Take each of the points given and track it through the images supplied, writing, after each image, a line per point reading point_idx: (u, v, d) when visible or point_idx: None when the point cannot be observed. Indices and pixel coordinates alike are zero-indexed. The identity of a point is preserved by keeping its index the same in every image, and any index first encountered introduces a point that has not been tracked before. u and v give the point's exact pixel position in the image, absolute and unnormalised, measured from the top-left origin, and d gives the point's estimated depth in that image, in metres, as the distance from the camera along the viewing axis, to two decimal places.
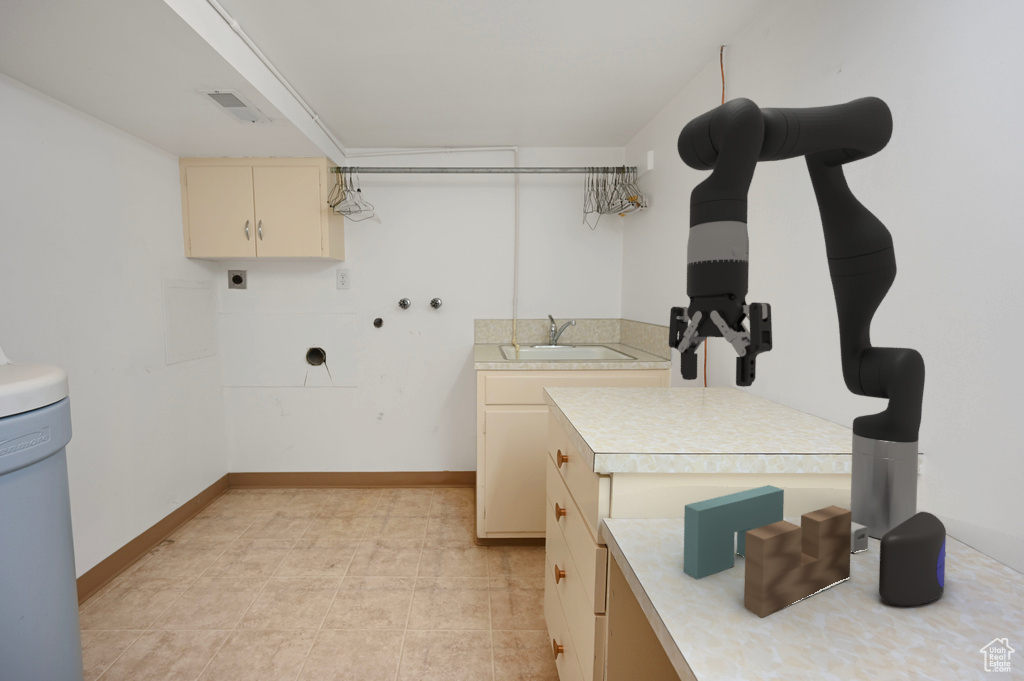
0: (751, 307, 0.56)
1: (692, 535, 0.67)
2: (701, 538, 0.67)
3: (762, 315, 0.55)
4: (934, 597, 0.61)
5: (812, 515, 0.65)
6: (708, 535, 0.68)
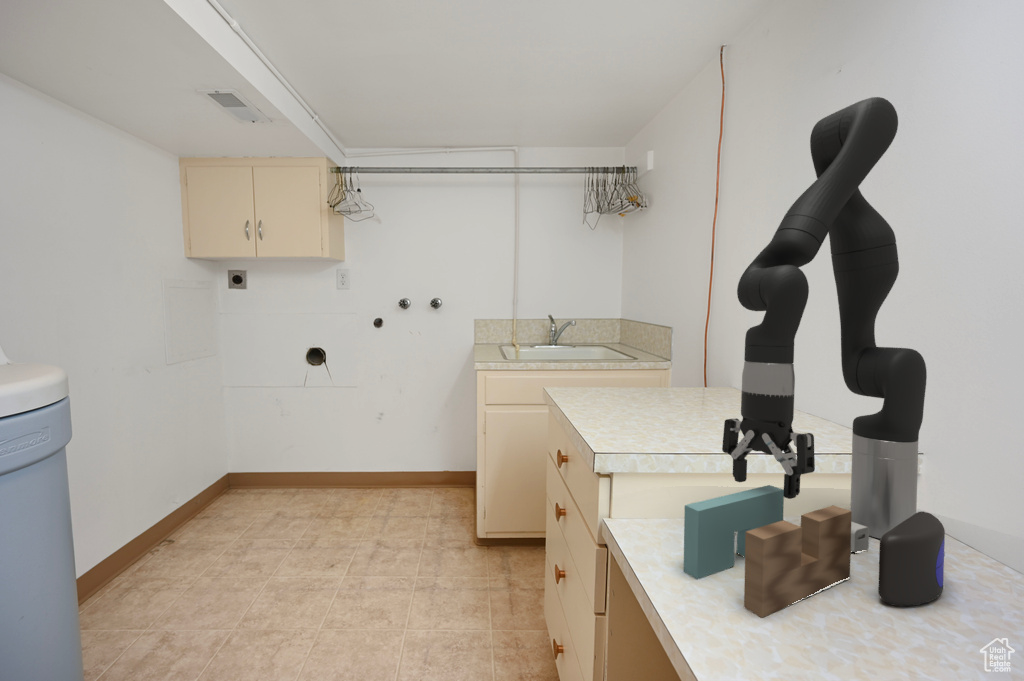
0: (798, 437, 0.69)
1: (692, 535, 0.67)
2: (701, 538, 0.67)
3: (807, 445, 0.69)
4: (933, 597, 0.61)
5: (812, 515, 0.65)
6: (708, 535, 0.68)
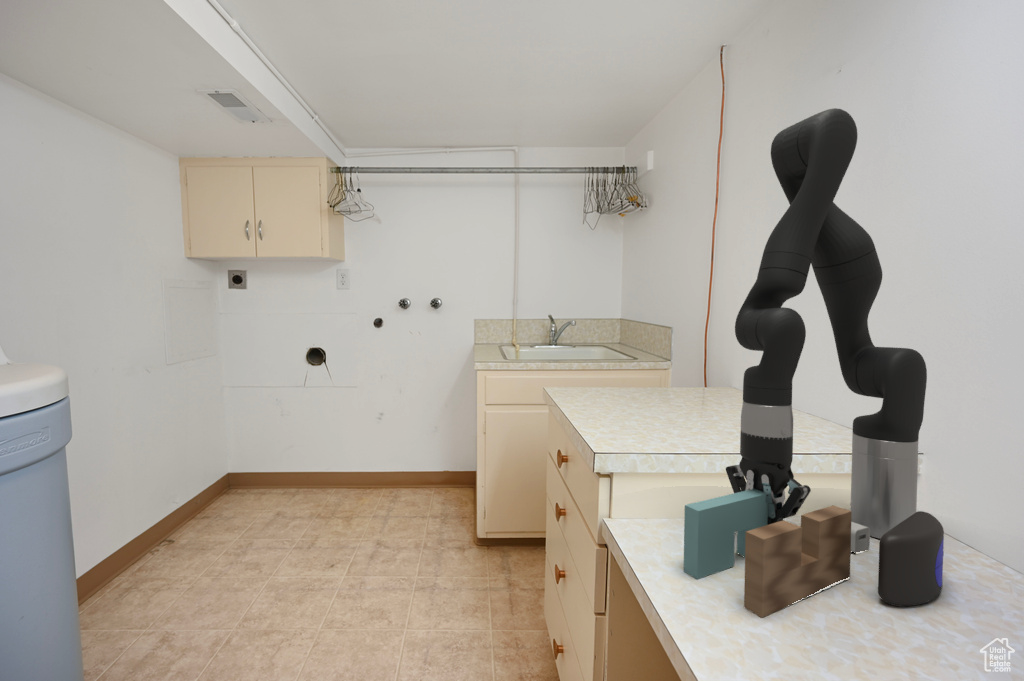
0: (795, 490, 0.70)
1: (692, 535, 0.67)
2: (701, 538, 0.67)
3: (800, 498, 0.70)
4: (933, 597, 0.61)
5: (812, 515, 0.65)
6: (708, 535, 0.68)
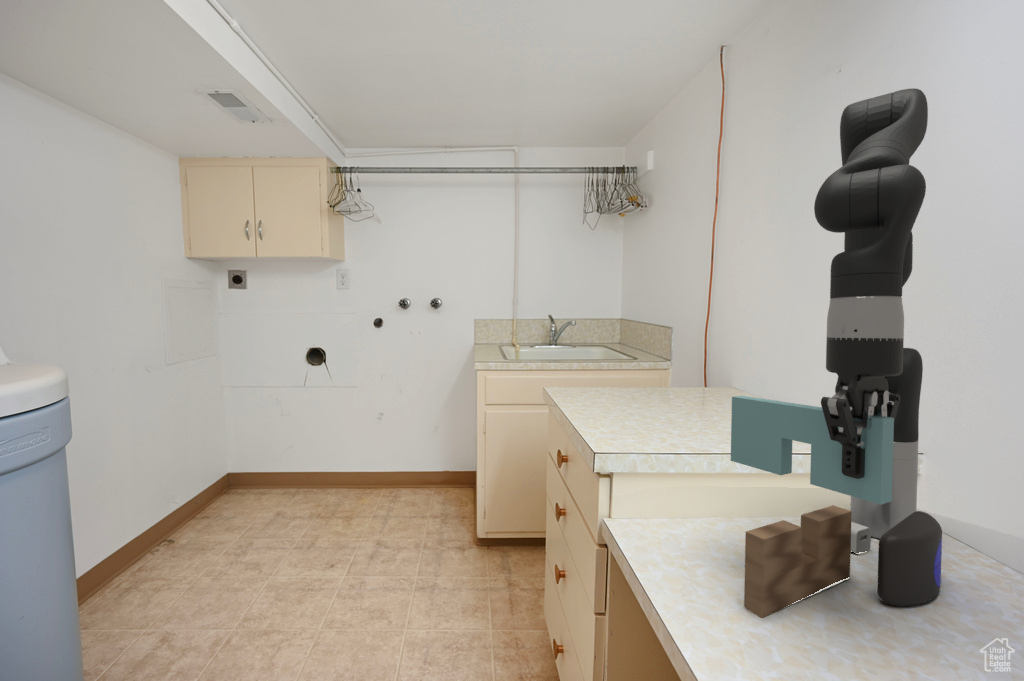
0: None
1: None
2: (735, 424, 0.71)
3: (830, 412, 0.54)
4: (931, 597, 0.61)
5: (812, 515, 0.65)
6: (744, 425, 0.70)
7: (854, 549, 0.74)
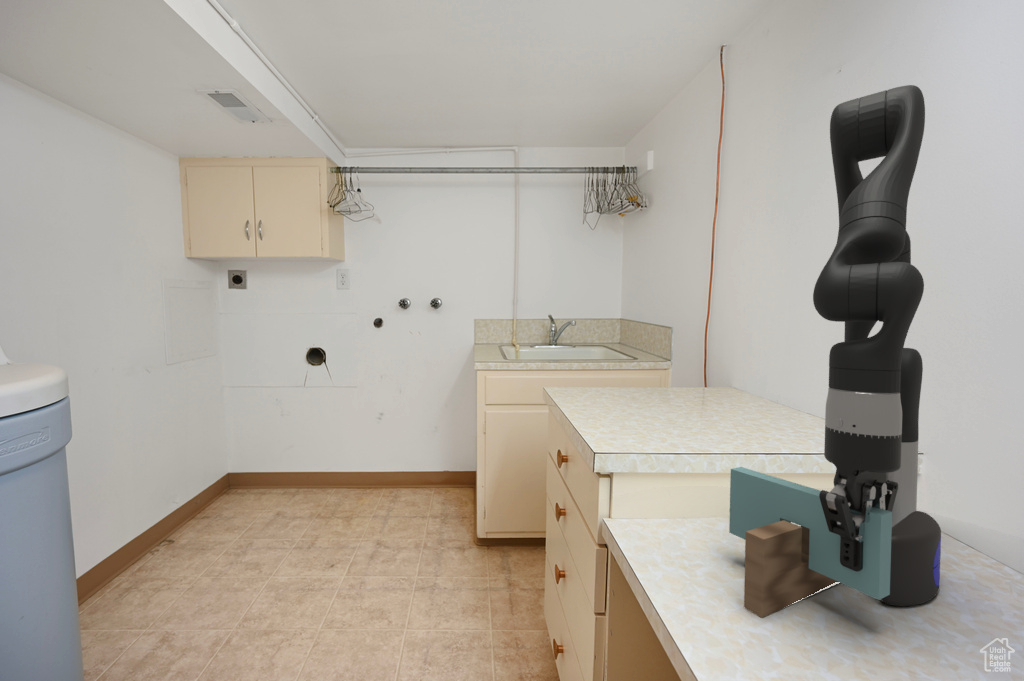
0: None
1: None
2: (734, 497, 0.71)
3: (828, 507, 0.55)
4: (931, 597, 0.61)
5: None
6: (743, 499, 0.70)
7: None
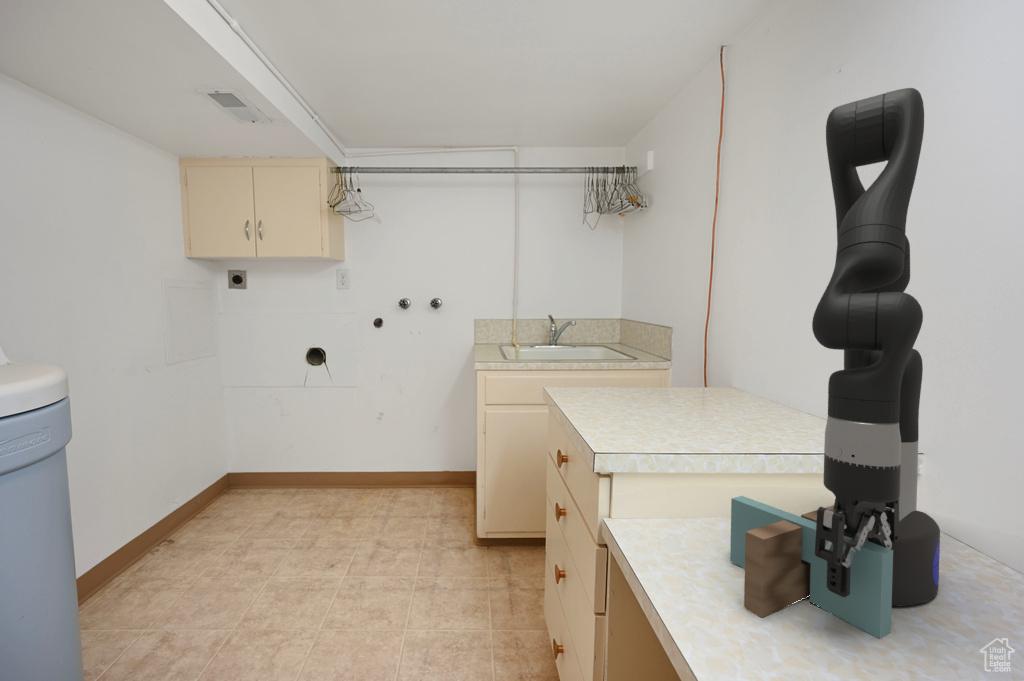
0: None
1: None
2: (735, 526, 0.71)
3: (823, 523, 0.54)
4: (930, 596, 0.61)
5: (812, 515, 0.65)
6: (743, 529, 0.70)
7: None
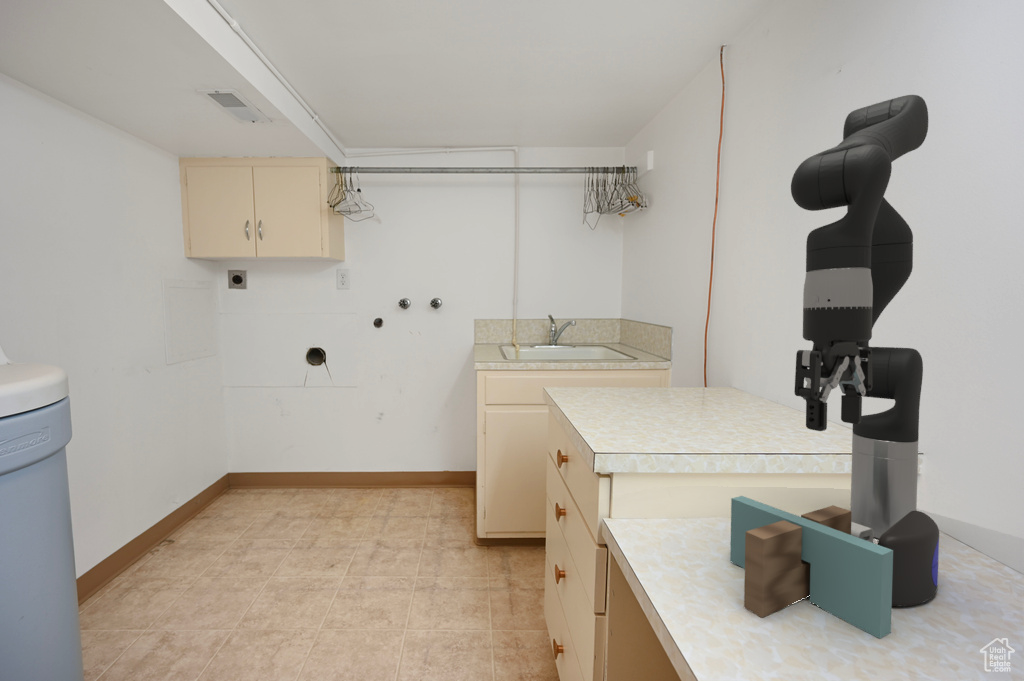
0: None
1: None
2: (735, 526, 0.71)
3: (802, 362, 0.58)
4: (929, 596, 0.61)
5: (812, 515, 0.65)
6: (743, 529, 0.70)
7: None
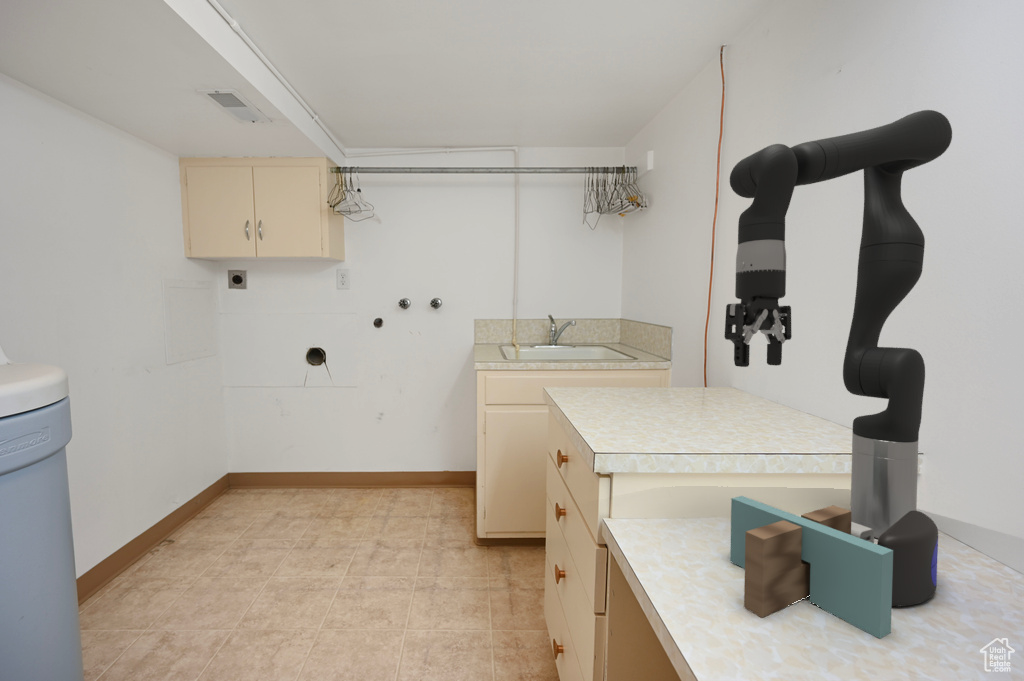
0: None
1: None
2: (735, 526, 0.71)
3: (730, 313, 0.75)
4: (929, 596, 0.61)
5: (812, 515, 0.65)
6: (743, 529, 0.70)
7: None
